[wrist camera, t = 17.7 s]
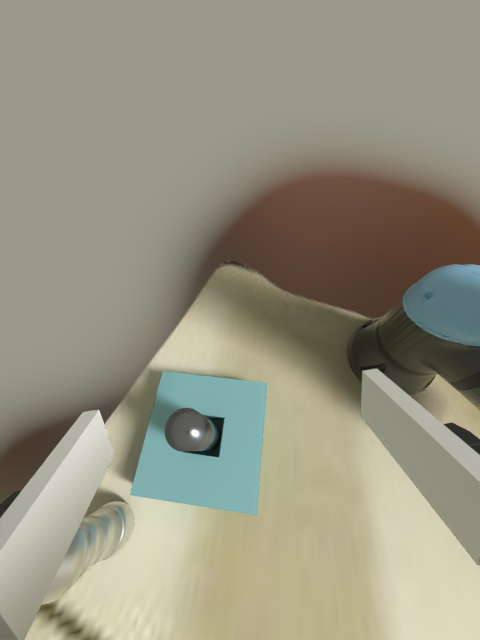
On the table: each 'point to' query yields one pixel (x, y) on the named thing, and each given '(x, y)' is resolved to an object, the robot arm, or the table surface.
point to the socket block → (205, 466)
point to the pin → (191, 431)
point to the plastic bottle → (93, 545)
